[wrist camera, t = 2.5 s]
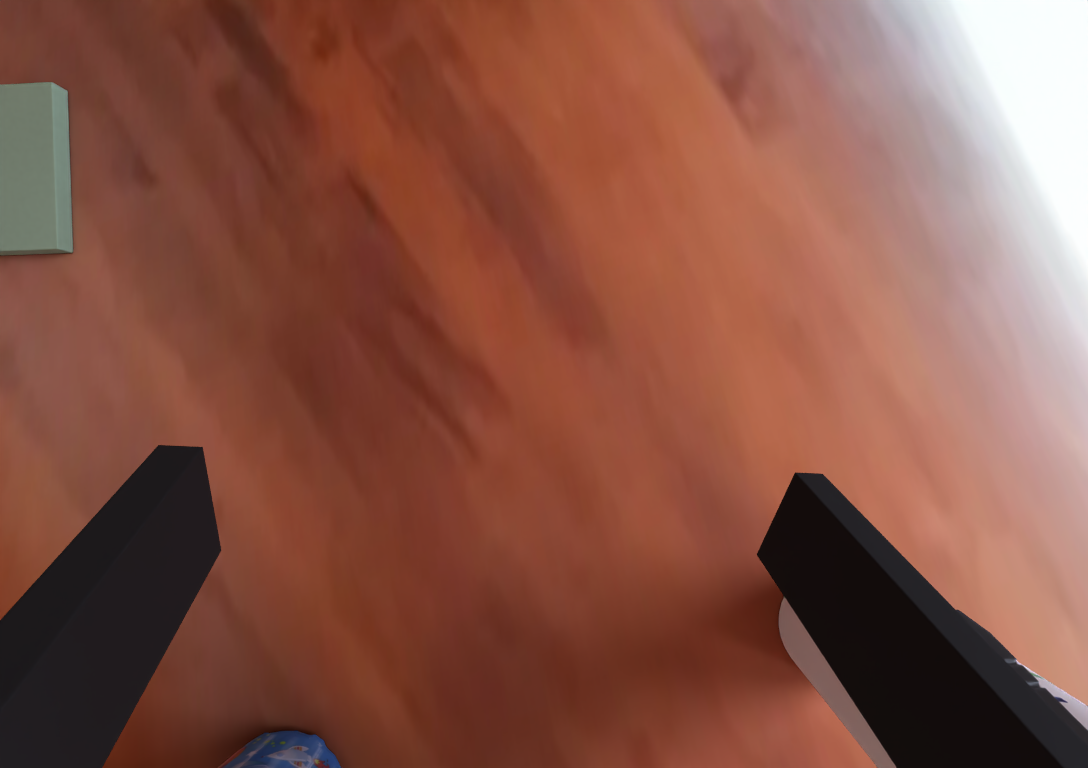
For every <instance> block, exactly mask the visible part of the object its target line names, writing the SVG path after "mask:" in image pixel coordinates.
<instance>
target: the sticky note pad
mask: <svg viewBox="0 0 1088 768" xmlns="http://www.w3.org/2000/svg"><path fill="white" fill-rule="evenodd" d="M53 253H73V237H72V207H71V177H70V148H69V118H68V92H67V90H65V89H63V88H62V87H60V86H58V85H56V84H55V83H53V82H43V83H24V84H5V85H0V255H26V254H53Z"/></svg>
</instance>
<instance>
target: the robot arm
mask: <svg viewBox="0 0 1088 768" xmlns="http://www.w3.org/2000/svg"><path fill="white" fill-rule="evenodd" d="M220 552H221V546H220V541H219V535H218V530H217V524H216V519H215V513H214V507H213V502H212V496H211V491H210V485H209V480H208V474H207V469H206V463H205V458H204V452H203V447H188V446H165V445H158V446H157V448H156V449H155V450H154V451H153V452H152V453H151V454H150V455H149V456H148V458H147V459H146V460H145V461H144V462H143V463H142V464H141V465H140V466H139V467H138V469H137V470H136V471H135V472H134V473H133V474H132V475H131V476H130V477H129V479H128V480H127V481H126V482H125V483H124V484H123V485H122V486H121V487H120V489H119V490H118V491H117V492H116V493H115V494H114V495H113V496H112V497H111V498H110V500H109V501H108V502H107V503H106V504H105V505H104V506H103V507H102V508H101V510H100V511H99V512H98V513H97V514H96V515H95V516H94V517H93V518H92V519H91V521H90V522H89V523H88V524H87V525H86V526H85V527H84V528H83V529H82V531H81V532H80V533H79V534H78V535H77V536H76V537H75V538H74V539H73V541H72V542H71V543H70V544H69V545H68V546H67V547H66V548H65V549H64V550H63V552H62V553H61V554H60V555H59V556H58V557H57V558H56V559H55V560H54V562H53V563H52V564H51V565H50V566H49V567H48V568H47V569H46V570H45V571H44V573H43V574H42V575H41V576H40V577H39V578H38V579H37V580H36V581H35V583H34V584H33V585H32V586H31V587H30V588H29V589H28V590H27V591H26V593H25V594H24V595H23V596H22V597H21V598H20V599H19V600H18V601H17V602H16V604H15V605H14V606H13V607H12V608H11V609H10V610H9V611H8V612H7V614H6V615H5V616H4V617H3V618H2V619H1V620H0V768H102V767H103V765H104V763H105V761H106V760H107V758H108V756H109V754H110V752H111V750H112V749H113V747H114V745H115V743H116V741H117V739H118V738H119V736H120V734H121V732H122V730H123V728H124V727H125V725H126V723H127V721H128V719H129V718H130V716H131V714H132V712H133V710H134V708H135V707H136V705H137V703H138V701H139V699H140V697H141V696H142V694H143V692H144V690H145V688H146V687H147V685H148V683H149V681H150V679H151V677H152V676H153V674H154V672H155V670H156V668H157V666H158V665H159V663H160V661H161V659H162V657H163V656H164V654H165V652H166V650H167V648H168V646H169V645H170V643H171V641H172V639H173V637H174V635H175V634H176V632H177V630H178V628H179V626H180V624H181V623H182V621H183V619H184V617H185V615H186V614H187V612H188V610H189V608H190V606H191V604H192V603H193V601H194V599H195V597H196V595H197V593H198V592H199V590H200V588H201V586H202V584H203V583H204V581H205V579H206V577H207V575H208V573H209V572H210V570H211V568H212V566H213V564H214V562H215V561H216V559H217V557H218V555H219V553H220ZM757 556H758V557H759V559H760V560H761V562H762V563H763V565H764V566H765V568H766V569H767V571H768V572H769V574H770V575H771V577H772V579H773V580H774V582H775V583H776V585H777V586H778V588H779V589H780V591H781V592H782V594H783V595H784V597H785V598H786V600H787V601H788V603H789V604H790V606H791V608H792V609H793V611H794V612H795V614H796V615H797V617H798V618H799V620H800V621H801V623H802V624H803V626H804V627H805V629H806V630H807V632H808V633H809V635H810V637H811V638H812V640H813V641H814V643H815V644H816V646H817V647H818V649H819V650H820V652H821V653H822V655H823V656H824V658H825V659H826V661H827V662H828V664H829V665H830V667H831V669H832V670H833V672H834V673H835V675H836V676H837V678H838V679H839V681H840V682H841V684H842V685H843V687H844V688H845V690H846V691H847V693H848V694H849V696H850V698H851V699H852V701H853V702H854V704H855V705H856V707H857V708H858V710H859V711H860V713H861V714H862V716H863V717H864V719H865V720H866V722H867V723H868V725H869V727H870V728H871V730H872V731H873V733H874V734H875V736H876V737H877V739H878V740H879V742H880V743H881V745H882V746H883V748H884V749H885V751H886V752H887V754H888V756H889V757H890V759H891V760H892V762H893V763H894V765H895V766H896V768H1088V730H1087V729H1086V728H1085V727H1084V726H1083V725H1082V724H1081V723H1080V722H1079V721H1078V720H1077V719H1076V718H1075V717H1074V716H1073V715H1072V714H1071V713H1070V712H1069V711H1068V710H1067V709H1066V708H1065V707H1064V706H1063V705H1062V704H1061V703H1060V702H1059V701H1058V700H1057V699H1056V698H1055V697H1054V696H1053V695H1052V694H1051V693H1050V692H1049V691H1048V690H1047V689H1046V688H1042V687H1040V685H1039V681H1038V680H1037V679H1036V678H1035V677H1034V676H1033V675H1032V674H1031V673H1030V672H1029V671H1028V670H1027V669H1026V668H1025V667H1024V666H1023V665H1019V664H1017V662H1016V660H1017V659H1016V658H1015V657H1014V656H1013V655H1012V654H1011V653H1010V652H1009V651H1008V650H1007V649H1006V648H1005V647H1004V646H1003V645H1002V644H1001V643H1000V642H999V641H998V640H997V639H996V638H995V637H994V636H993V635H992V634H991V633H990V632H988V631H987V630H985V629H984V628H983V627H981V626H980V625H979V624H977V623H976V622H974V621H973V620H972V619H970V618H969V617H968V616H966V615H965V614H963V613H962V612H961V611H959V610H955V609H954V608H953V607H952V606H951V605H950V604H949V603H948V602H947V601H946V600H945V599H944V598H943V597H942V596H941V594H940V593H939V592H938V591H937V590H936V589H935V588H934V587H933V586H932V585H931V584H930V583H929V582H928V581H927V580H926V579H925V578H924V577H923V576H922V575H921V574H920V573H919V572H918V571H917V570H916V569H915V568H914V567H913V566H912V565H911V564H910V563H909V562H908V561H907V560H906V559H905V558H904V557H903V556H902V555H901V554H900V553H899V552H898V551H897V550H896V549H895V548H894V546H893V545H892V544H891V543H890V542H889V541H888V540H887V539H886V538H885V537H884V536H883V535H882V534H881V533H880V532H879V531H878V530H877V529H876V528H875V527H874V526H873V525H872V524H871V523H870V522H869V521H868V520H867V519H866V518H865V517H864V516H863V515H862V514H861V513H860V512H859V511H858V510H857V509H856V508H855V507H854V506H853V505H852V504H851V503H850V502H849V501H848V499H847V498H846V497H845V496H844V495H843V494H842V493H841V492H840V491H839V490H838V489H837V488H836V487H835V486H834V485H833V484H832V483H831V482H830V481H829V480H828V479H827V478H826V477H825V476H824V475H823V474H814V473H795V474H794V476H793V478H792V480H791V483H790V485H789V487H788V489H787V491H786V493H785V495H784V497H783V500H782V502H781V504H780V506H779V508H778V510H777V512H776V515H775V517H774V519H773V521H772V523H771V525H770V527H769V529H768V532H767V534H766V536H765V538H764V540H763V542H762V544H761V547H760V549H759V551H758V553H757Z"/></svg>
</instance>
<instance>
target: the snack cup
mask: <svg viewBox="0 0 1088 768" xmlns="http://www.w3.org/2000/svg"><path fill="white" fill-rule="evenodd" d="M218 768H341V766H340V764H339V762H338V760H337V758H336V756H335V755H334V754H333V753H332V752H331V751H330V750H329V749H328V748H327V747H326V745H325V742H324V740H322V739H321V738H319V737H318V736H317V735H315V734H314V735H307V734H305V733H301V732H299V731H297V730H296V731H279V732H273V733H264V734H262V735H260V736H258V737H257V738H255V739H253V740H252V741H251V742H249V743H247V744H246V745H245V746H244V747H242V748H241V749H239V750H238V751H236V752H235V753H234V754H233V755H232V756H230V757H229V758H228V759H227V760H226V761H225V762H223V763H222V764H221V765H220V766H219V767H218Z"/></svg>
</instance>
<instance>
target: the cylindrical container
mask: <svg viewBox="0 0 1088 768" xmlns="http://www.w3.org/2000/svg"><path fill="white" fill-rule="evenodd" d="M779 631H780V636H781V639H782V642H783V645H784V647H785V649H786V651H787V652H788V654H789V656H790V657H791V659H792V660H793V661H794V662H795V664H796V665H797V666H798V667H799V669H800V670H801V671H802V672H803V674H804V675H805V676H806V677H807V679H808V680H809V681H810V683H811V684H812V685H813V686H814V688H815V689H816V690H817V691H818V693H819V694H820V695H821V696H822V698H823V699H824V700H825V701H826V703H827V704H828V705H829V707H830V708H831V709H832V710H833V712H834V713H835V714H836V715H837V717H838V718H839V719H840V720H841V722H842V723H843V724H844V726H845V727H846V728H847V729H848V731H849V732H850V733H851V734H852V736H853V737H854V738H855V739H856V741H857V742H858V743H859V745H860V746H861V747H862V748H863V750H864V751H865V752H866V753H867V755H868V756H869V757H870V758H871V760H872V761H873V762H874V764H875V765H876V766H877V767H878V768H896V766H895V765H894V763H893V762H892V760H891V759H890V757H889V756H888V754H887V752H886V751H885V749H884V748H883V746H882V745H881V743H880V742H879V740H878V739H877V737H876V736H875V734H874V733H873V731H872V730H871V728H870V727H869V725H868V723H867V722H866V720H865V719H864V717H863V716H862V714H861V713H860V711H859V710H858V708H857V707H856V705H855V704H854V702H853V701H852V699H851V698H850V696H849V694H848V693H847V691H846V690H845V688H844V687H843V685H842V684H841V682H840V681H839V679H838V678H837V676H836V675H835V673H834V672H833V670H832V669H831V667H830V665H829V664H828V662H827V661H826V659H825V658H824V656H823V655H822V653H821V652H820V650H819V649H818V647H817V646H816V644H815V643H814V641H813V640H812V638H811V637H810V635H809V633H808V632H807V630H806V629H805V627H804V626H803V624H802V623H801V621H800V620H799V618H798V617H797V615H796V614H795V612H794V611H793V609H792V608H791V606H790V604H789V603H788V601H787V600H786V598H785V597H784V598H783V600H782V603H781V607H780V611H779ZM1016 662H1017V661H1016ZM1017 664H1019V665H1022V664H1020V663H1019V662H1017ZM1023 666H1024V665H1023ZM1024 667H1025V666H1024ZM1025 668H1026V669H1027V670H1028V671H1029V672H1030V673H1031V674H1032V675H1033V676H1034V677H1035V678H1036V679H1037V680H1038V681H1039V685H1040V687H1042V688H1046V689H1047V690H1048V691H1049V692H1050V693H1051V694H1052V695H1053V696H1054V697H1055V698H1056V699H1057V700H1058V701H1059V702H1060V703H1061V704H1062V705H1063V706H1064V707H1065V708H1066V709H1067V710H1068V711H1069V712H1070V713H1071V714H1072V715H1073V716H1074V717H1075V718H1076V719H1077V720H1078V721H1079V722H1080V723H1081V724H1082V725H1083V726H1084V727H1085V728H1086V729H1087V730H1088V706H1087V705H1085V704H1084V703H1082V702H1080V701H1079V700H1077V699H1076V698H1074V697H1072V696H1071V695H1069V694H1068V693H1066V692H1065V691H1063V690H1061V689H1060V688H1058V687H1056V686H1055V685H1053V684H1052V683H1050V682H1049V681H1047V680H1046V679H1044V678H1043V677H1041V676H1039V675H1038V674H1036V673H1035V672H1033V671H1032V670H1030V669H1028V668H1027V667H1025Z"/></svg>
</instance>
